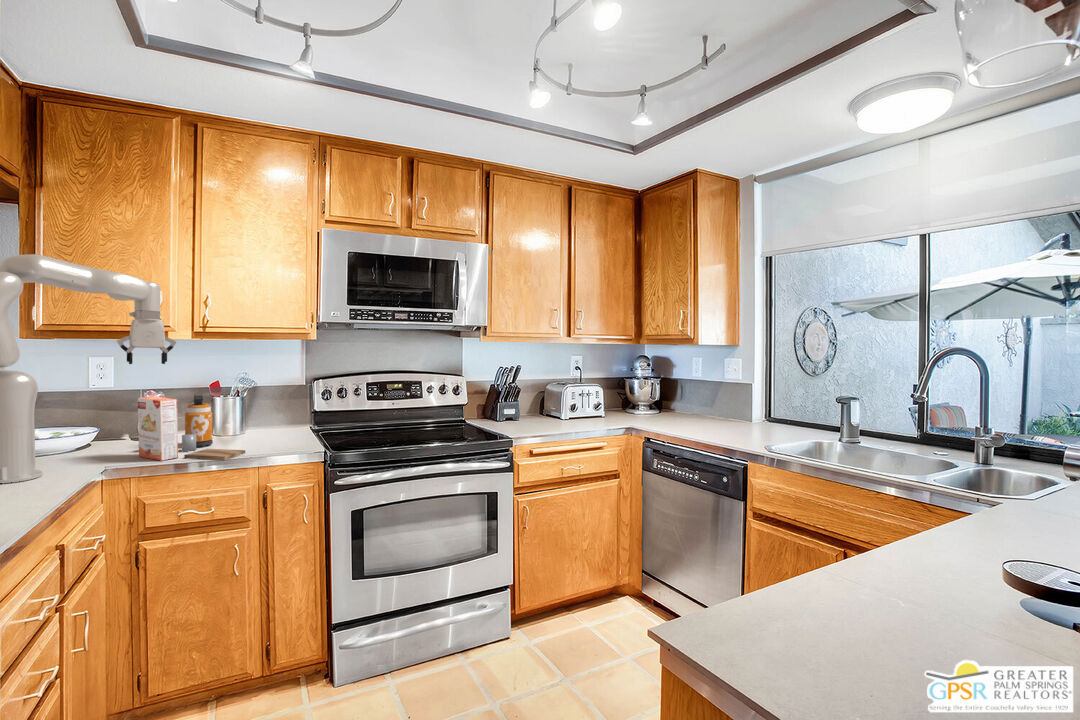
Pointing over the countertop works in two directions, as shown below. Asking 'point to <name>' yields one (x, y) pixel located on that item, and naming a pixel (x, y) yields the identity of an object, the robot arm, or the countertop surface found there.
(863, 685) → the countertop surface
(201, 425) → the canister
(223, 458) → the cutting board
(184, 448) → the slate cylinder
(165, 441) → the cracker box
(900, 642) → the countertop surface
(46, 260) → the robot arm
